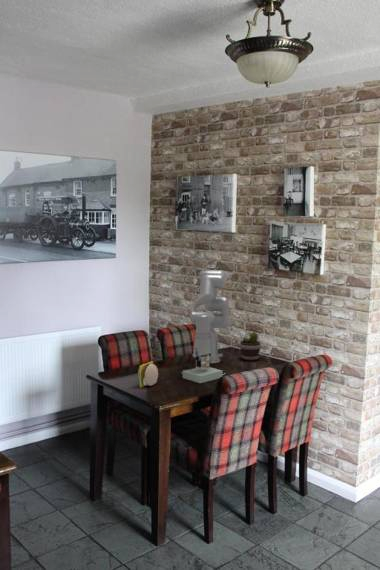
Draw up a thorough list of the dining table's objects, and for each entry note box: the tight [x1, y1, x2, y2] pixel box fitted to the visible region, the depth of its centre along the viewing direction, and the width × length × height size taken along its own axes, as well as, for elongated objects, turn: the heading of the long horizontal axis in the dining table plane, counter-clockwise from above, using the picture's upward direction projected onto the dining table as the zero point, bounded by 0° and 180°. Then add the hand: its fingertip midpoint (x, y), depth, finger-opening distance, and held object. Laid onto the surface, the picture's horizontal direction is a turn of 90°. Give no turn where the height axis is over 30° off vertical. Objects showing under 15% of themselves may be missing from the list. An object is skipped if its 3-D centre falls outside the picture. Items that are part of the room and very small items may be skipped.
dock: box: [182, 366, 224, 384], centre depth 328 cm, size 18×15×4 cm
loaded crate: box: [195, 355, 210, 369], centre depth 327 cm, size 6×6×7 cm
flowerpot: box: [238, 330, 262, 362], centre depth 370 cm, size 14×15×20 cm
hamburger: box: [137, 360, 159, 388], centre depth 314 cm, size 12×8×12 cm
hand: (202, 365), depth 328 cm, fingers closed on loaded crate, 5 cm apart
